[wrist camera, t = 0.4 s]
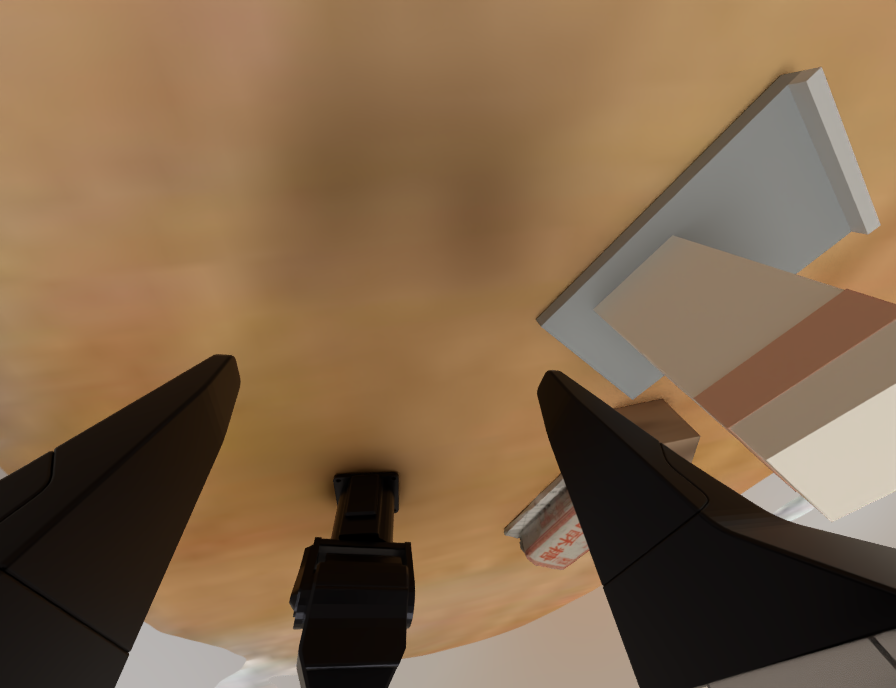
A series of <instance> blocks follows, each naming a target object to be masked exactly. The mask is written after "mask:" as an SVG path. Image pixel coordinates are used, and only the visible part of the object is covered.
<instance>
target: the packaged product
mask: <svg viewBox="0 0 896 688" xmlns="http://www.w3.org/2000/svg"><path fill="white" fill-rule="evenodd" d="M504 534H505V535H507V536H511V537H515V538H520V548H521V549H522V551H523V552H524V553H525V555H526V557H527V559H528V560H529V561H531V562H532V563H533V564H534V565H536V566H542V567H548V568H552V569H559V570H563V569H565V568H566V567H568V566H569V565H571V564H572V563H574V562H575V561H576V560H577V559H578V558H580V557H581V556H583V555H584V554H585V553H587V552H588V551H589V548H588V545H587V542H586V540H585V537H584V534H583V531H582V529H581V526H580V523H579V520H578V518H577V515H576V512H575V510H574V507H573V504H572V501H571V499H570V496H569V493H568V490H567V488H566V485H565V482H564V480H563V477H562V474H561V475H560V476H559V477H557V478H556V479H555V480H554V481H553V482H552V483H551V484H550V485H549V486H548V487H547V488H546V489H545V490H543V491H542V492H541V493H540V494H539V495H538V496H537V497H536V498H535V499H534V500H533V501H532V502H531V503H530V504H529V506H528V507H527V508H525V509H524V511H523V512H522V513H521V514H520V515H519V516H518V517H517V518H516V519H515V520H514V521H512V522H511V523H510V524H509V525H508V526H507V527H506V528H505V529H504Z"/></svg>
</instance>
